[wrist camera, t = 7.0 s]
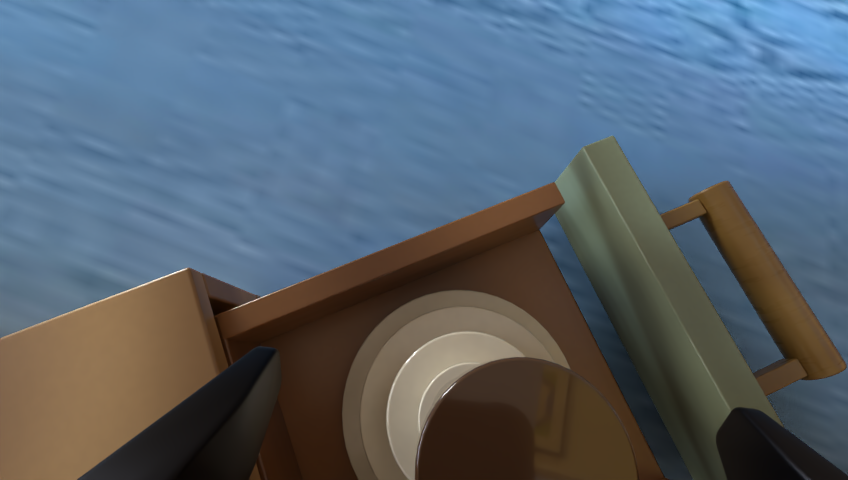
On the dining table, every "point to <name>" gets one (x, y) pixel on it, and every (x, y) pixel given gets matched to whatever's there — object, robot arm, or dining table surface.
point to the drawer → (549, 312)
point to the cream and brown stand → (475, 399)
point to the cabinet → (107, 373)
